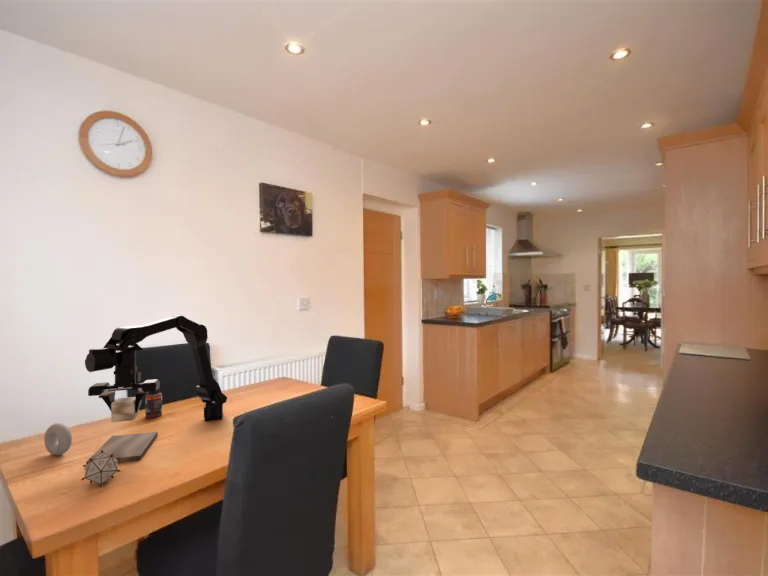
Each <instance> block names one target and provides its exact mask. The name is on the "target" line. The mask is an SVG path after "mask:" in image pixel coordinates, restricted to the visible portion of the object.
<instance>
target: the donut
mask: <svg viewBox="0 0 768 576" xmlns="http://www.w3.org/2000/svg"><path fill="white" fill-rule="evenodd" d="M43 436H44V440H43V442H44V446H45V449H46V451H47V452H48V453H49V454H50V455H53V456H62V455H64V454H65V453H67V452H68V451H69V450H70V448H71V445H72V442H73V435H72V433H71V430H70V428H69V427H68V426H67V425H66V424H65V423H61V422H59V423H58V422H57V423H53V424H51V425H50V426H49V427H48V428H47V429H46V430H45V432H44V435H43Z"/></svg>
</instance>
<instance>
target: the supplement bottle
mask: <svg viewBox="0 0 768 576" xmlns="http://www.w3.org/2000/svg"><path fill="white" fill-rule="evenodd" d="M144 397H145V403H144V405H145V417H146V418H149V419H151V418H157V417H160V416H161V415H162V414H163V393H162V392H161V391H160V387H159V388H158V389H157V390H156V391H153V392H148V393H147V394H145V395H144Z"/></svg>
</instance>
